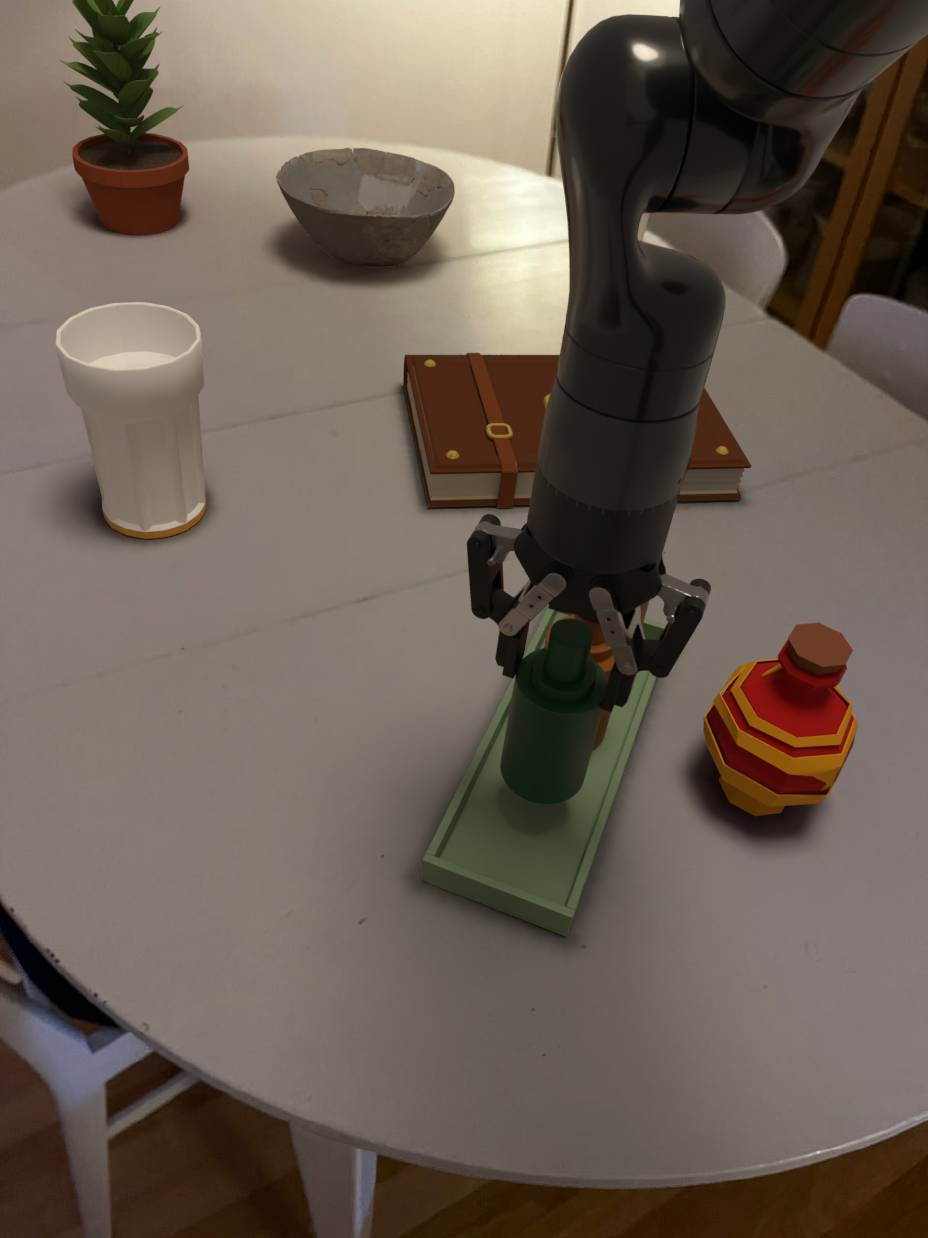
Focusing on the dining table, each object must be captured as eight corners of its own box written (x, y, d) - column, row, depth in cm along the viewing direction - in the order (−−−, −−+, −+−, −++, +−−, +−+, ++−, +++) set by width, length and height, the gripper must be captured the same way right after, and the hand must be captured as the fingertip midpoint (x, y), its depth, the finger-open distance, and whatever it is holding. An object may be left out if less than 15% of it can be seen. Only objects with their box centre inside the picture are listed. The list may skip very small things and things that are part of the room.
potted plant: (214, 207, 143) (193, -44, 122) (166, 249, 132) (134, -18, 111) (115, 188, 144) (78, -62, 124) (59, 229, 134) (9, -38, 113)
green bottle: (600, 790, 68) (639, 654, 60) (523, 815, 66) (551, 678, 58) (560, 728, 72) (591, 591, 63) (486, 750, 70) (507, 612, 61)
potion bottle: (819, 748, 79) (891, 606, 69) (828, 859, 71) (911, 719, 61) (684, 721, 80) (736, 577, 69) (680, 828, 72) (737, 684, 62)
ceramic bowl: (403, 311, 125) (407, 231, 118) (245, 262, 131) (240, 183, 124) (478, 249, 140) (486, 174, 133) (333, 207, 146) (333, 134, 139)
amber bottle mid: (619, 744, 77) (656, 618, 68) (551, 765, 75) (580, 638, 66) (582, 690, 80) (613, 564, 72) (516, 708, 78) (539, 582, 70)
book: (740, 502, 102) (754, 461, 98) (428, 510, 97) (431, 467, 93) (673, 383, 118) (683, 344, 114) (402, 384, 113) (404, 343, 109)
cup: (104, 558, 88) (67, 379, 76) (79, 484, 95) (43, 310, 83) (233, 532, 92) (218, 358, 80) (200, 462, 99) (182, 293, 87)
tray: (566, 937, 65) (572, 918, 64) (420, 880, 67) (422, 859, 66) (667, 647, 86) (673, 626, 84) (552, 610, 88) (556, 589, 86)
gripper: (453, 459, 51) (431, 688, 62) (737, 543, 48) (659, 767, 59) (503, 390, 56) (474, 613, 68) (762, 462, 53) (685, 682, 65)
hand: (561, 684), depth 63 cm, fingers closed on green bottle, 5 cm apart
